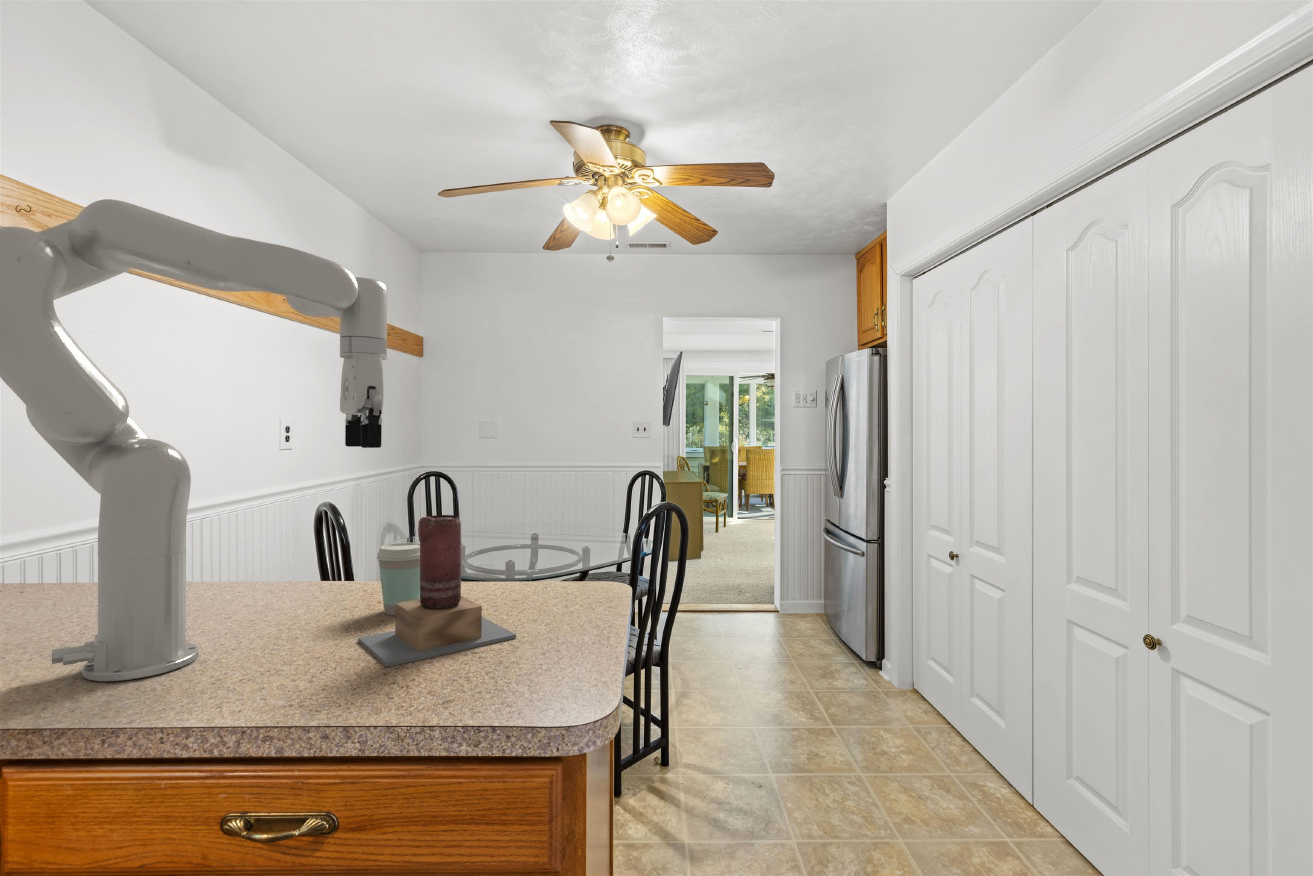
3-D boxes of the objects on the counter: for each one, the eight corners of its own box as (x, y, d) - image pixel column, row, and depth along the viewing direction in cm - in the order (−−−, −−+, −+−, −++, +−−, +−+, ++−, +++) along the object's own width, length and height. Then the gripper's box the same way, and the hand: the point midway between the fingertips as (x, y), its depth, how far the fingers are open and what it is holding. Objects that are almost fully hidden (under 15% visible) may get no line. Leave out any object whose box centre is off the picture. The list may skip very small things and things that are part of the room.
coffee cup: (434, 605, 119) (434, 542, 119) (412, 618, 111) (412, 550, 111) (391, 603, 120) (391, 541, 120) (366, 616, 112) (367, 549, 112)
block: (417, 651, 93) (418, 617, 93) (395, 634, 100) (395, 603, 100) (481, 637, 99) (481, 606, 99) (455, 622, 107) (455, 593, 107)
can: (417, 601, 101) (416, 515, 101) (458, 597, 104) (458, 513, 103) (419, 612, 95) (419, 520, 95) (462, 607, 98) (463, 518, 98)
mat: (387, 667, 88) (387, 662, 88) (358, 641, 99) (358, 637, 98) (516, 638, 101) (516, 634, 101) (478, 618, 112) (478, 614, 112)
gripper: (328, 352, 115) (327, 446, 115) (354, 342, 102) (353, 448, 102) (371, 356, 120) (370, 446, 120) (401, 347, 106) (401, 448, 107)
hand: (362, 447), depth 111 cm, fingers open, 9 cm apart
